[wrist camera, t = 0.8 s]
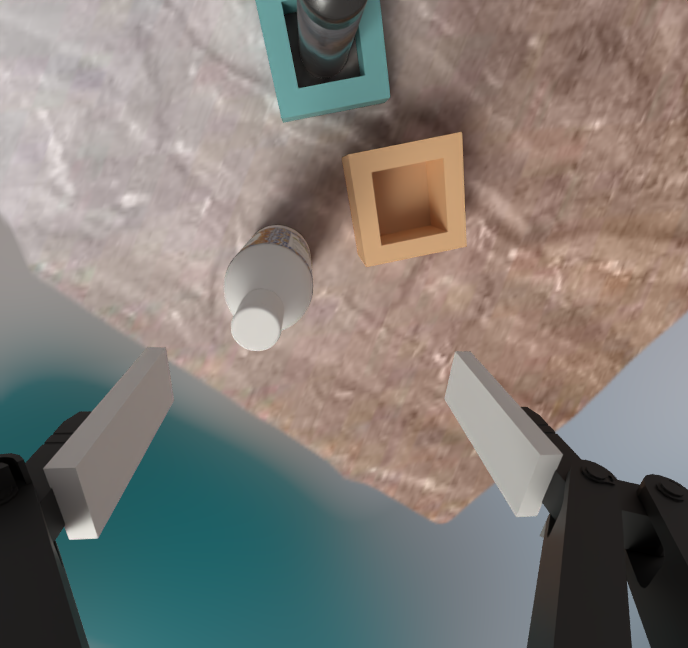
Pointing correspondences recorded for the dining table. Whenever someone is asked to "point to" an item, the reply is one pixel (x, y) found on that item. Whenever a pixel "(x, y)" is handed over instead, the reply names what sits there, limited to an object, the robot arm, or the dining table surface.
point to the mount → (331, 95)
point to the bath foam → (268, 286)
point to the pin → (327, 33)
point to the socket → (407, 199)
